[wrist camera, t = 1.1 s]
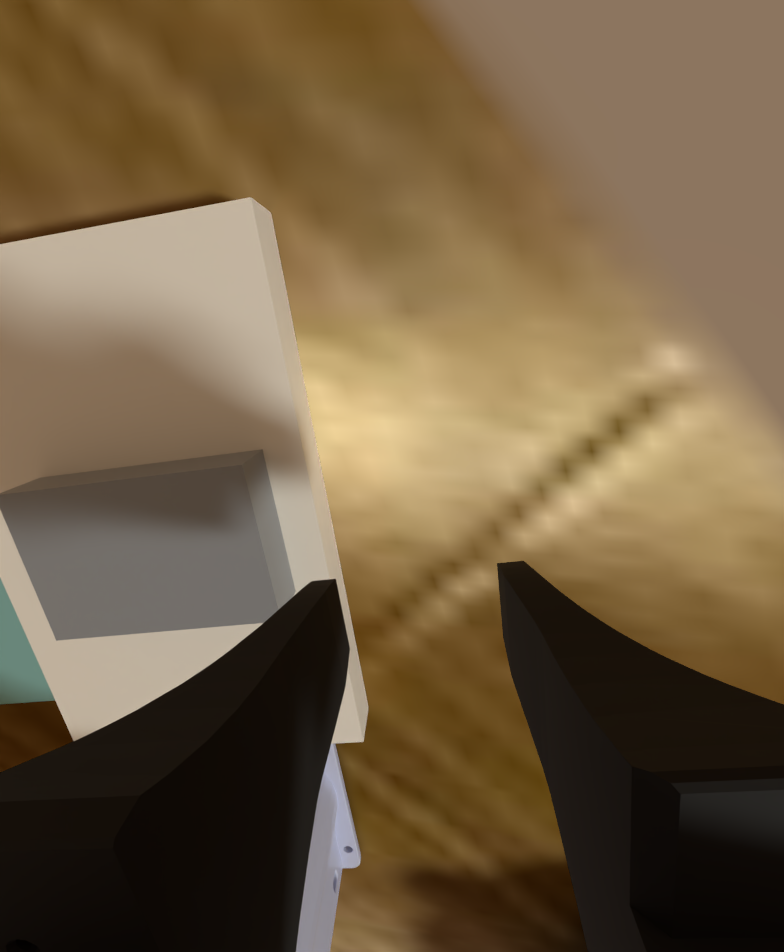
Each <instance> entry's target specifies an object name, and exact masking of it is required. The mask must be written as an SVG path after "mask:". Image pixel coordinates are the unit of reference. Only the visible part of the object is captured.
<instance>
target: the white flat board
mask: <svg viewBox="0 0 784 952" xmlns="http://www.w3.org/2000/svg"><path fill="white" fill-rule="evenodd" d="M261 449H263V454H264V458H265V462H266V467H267V471H268V475H269V479H270V484H271V488H272V492H273V496H274V501H275V505H276V509H277V514H278V518H279V522H280V526H281V531H282V535H283V539H284V543H285V548H286V552H287V556H288V561H289V565H290V569H291V573H292V578H293V582H294V586H295V590H296V592H295V594H297V593H298V592H299V591H300V590H301V589H302V588H304V587H305V586H306V585H307V584H309V583H310V582H311V581H317V580H327V579H336V582H337V587H338V592H339V597H340V602H341V607H342V612H343V617H344V622H345V627H346V631H347V636H348V641H349V646H350V653H349V662H348V671H347V679H346V686H345V691H344V695H343V699H342V703H341V707H340V711H339V715H338V719H337V723H336V727H335V731H334V734H333V738H332V742H331V744H333V743H350V742H364V735H365V728H366V721H367V714H368V702H367V697H366V692H365V687H364V682H363V677H362V672H361V667H360V662H359V657H358V652H357V646H356V641H355V636H354V631H353V626H352V621H351V616H350V611H349V606H348V601H347V596H346V591H345V586H344V580H343V575H342V570H341V565H340V560H339V555H338V550H337V545H336V540H335V535H334V530H333V525H332V520H331V515H330V509H329V504H328V499H327V494H326V489H325V484H324V479H323V474H322V469H321V464H320V459H319V454H318V449H317V444H316V438H315V433H314V428H313V423H312V418H311V413H310V408H309V403H308V398H307V393H306V388H305V383H304V378H303V372H302V367H301V362H300V357H299V352H298V347H297V342H296V337H295V332H294V327H293V322H292V317H291V312H290V307H289V301H288V296H287V291H286V286H285V281H284V276H283V271H282V266H281V261H280V256H279V251H278V246H277V241H276V236H275V230H274V225H273V220H272V215H271V212H269V211H268V210H267V209H265V208H264V207H263V206H262V205H260V204H259V203H258V202H256V201H255V200H254V199H252V198H251V197H250V198H244V199H239V200H234V201H228V202H223V203H218V204H212V205H207V206H202V207H196V208H191V209H186V210H180V211H175V212H170V213H164V214H159V215H154V216H148V217H143V218H138V219H132V220H127V221H122V222H116V223H111V224H106V225H100V226H95V227H90V228H84V229H79V230H74V231H68V232H63V233H58V234H52V235H47V236H42V237H36V238H31V239H26V240H20V241H15V242H10V243H4V244H0V493H2V492H4V491H7V490H10V489H12V488H15V487H17V486H20V485H22V484H25V483H28V482H30V481H33V480H35V479H38V478H41V477H49V476H57V475H64V474H72V473H80V472H88V471H96V470H104V469H112V468H119V467H127V466H135V465H143V464H151V463H159V462H167V461H175V460H182V459H190V458H198V457H206V456H214V455H222V454H230V453H237V452H245V451H253V450H261ZM0 578H1V580H2V583H3V585H4V587H5V589H6V592H7V594H8V596H9V598H10V600H11V603H12V605H13V607H14V609H15V612H16V614H17V616H18V618H19V621H20V623H21V625H22V627H23V629H24V632H25V634H26V636H27V638H28V641H29V643H30V645H31V647H32V650H33V652H34V654H35V656H36V658H37V661H38V663H39V665H40V667H41V670H42V672H43V674H44V676H45V679H46V681H47V683H48V685H49V687H50V690H51V692H52V694H53V696H54V699H55V701H56V703H57V705H58V708H59V710H60V712H61V714H62V716H63V719H64V721H65V723H66V725H67V728H68V730H69V732H70V734H71V737H72V739H73V741H76V740H78V739H80V738H82V737H84V736H86V735H88V734H90V733H92V732H94V731H96V730H99V729H101V728H103V727H105V726H107V725H109V724H111V723H113V722H115V721H117V720H118V719H120V718H122V717H124V716H126V715H128V714H130V713H132V712H134V711H136V710H138V709H139V708H141V707H143V706H144V705H146V704H148V703H150V702H151V701H153V700H155V699H156V698H158V697H160V696H162V695H163V694H165V693H167V692H168V691H170V690H172V689H174V688H175V687H177V686H179V685H180V684H182V683H184V682H185V681H187V680H188V679H190V678H191V677H193V676H194V675H196V674H197V673H199V672H200V671H202V670H203V669H205V668H206V667H208V666H209V665H211V664H212V663H213V662H215V661H216V660H218V659H219V658H220V657H222V656H223V655H224V654H226V653H227V652H228V651H230V650H231V649H232V648H233V647H235V646H236V645H237V644H238V643H240V642H241V641H242V640H243V639H245V638H246V637H247V636H248V635H249V634H251V633H252V632H253V631H254V630H256V629H257V628H258V627H259V626H261V625H262V624H263V623H256V624H245V625H233V626H221V627H210V628H198V629H186V630H175V631H163V632H151V633H140V634H128V635H117V636H105V637H93V638H82V639H70V640H58V641H56V639H55V636H54V634H53V632H52V629H51V627H50V625H49V622H48V620H47V618H46V615H45V613H44V611H43V608H42V606H41V604H40V601H39V599H38V597H37V594H36V592H35V590H34V587H33V585H32V583H31V580H30V578H29V575H28V573H27V571H26V568H25V566H24V564H23V561H22V559H21V557H20V554H19V552H18V550H17V547H16V545H15V543H14V540H13V538H12V536H11V533H10V531H9V529H8V526H7V524H6V522H5V519H4V517H3V515H2V512H1V510H0ZM295 594H294V595H295Z"/></svg>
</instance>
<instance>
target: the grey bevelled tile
mask: <svg viewBox="0 0 784 952" xmlns="http://www.w3.org/2000/svg"><path fill="white" fill-rule="evenodd" d="M0 510H1V512H2V515H3V517H4V519H5V522H6V524H7V526H8V529H9V531H10V533H11V536H12V538H13V540H14V543H15V545H16V547H17V550H18V552H19V554H20V557H21V559H22V561H23V564H24V566H25V568H26V571H27V573H28V575H29V578H30V580H31V583H32V585H33V587H34V590H35V592H36V594H37V597H38V599H39V601H40V604H41V606H42V608H43V611H44V613H45V615H46V618H47V620H48V622H49V625H50V627H51V629H52V632H53V634H54V636H55V639H56V641H58V640H70V639H82V638H93V637H105V636H117V635H128V634H140V633H151V632H163V631H175V630H186V629H198V628H210V627H221V626H233V625H245V624H256V623H264V622H265V621H266V620H267V619H269V618H270V617H271V616H272V615H273V614H274V613H275V612H276V611H278V610H279V609H280V608H281V607H282V606H283V605H284V604H285V603H287V602H288V601H289V600H290V599H291V598H292V597H293V596H294V594H295V592H296V590H295V586H294V582H293V578H292V573H291V569H290V565H289V561H288V556H287V552H286V548H285V543H284V539H283V535H282V531H281V526H280V522H279V518H278V514H277V509H276V505H275V501H274V496H273V492H272V488H271V484H270V479H269V475H268V471H267V467H266V462H265V458H264V454H263V449H261V450H253V451H245V452H237V453H230V454H222V455H214V456H206V457H198V458H190V459H182V460H175V461H167V462H159V463H151V464H143V465H135V466H127V467H119V468H112V469H104V470H96V471H88V472H80V473H72V474H64V475H57V476H49V477H41V478H38V479H35V480H33V481H30V482H28V483H25V484H22V485H20V486H17V487H15V488H12V489H10V490H7V491H4V492H2V493H0Z"/></svg>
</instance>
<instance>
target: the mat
mask: <svg viewBox="0 0 784 952" xmlns="http://www.w3.org/2000/svg"><path fill="white" fill-rule="evenodd" d="M54 700H55V699H54V696H53V694H52V692H51V690H50V687H49V685H48V683H47V681H46V679H45V676H44V674H43V672H42V670H41V667H40V665H39V663H38V661H37V658H36V656H35V654H34V652H33V650H32V647H31V645H30V643H29V641H28V638H27V636H26V634H25V632H24V629H23V627H22V625H21V623H20V621H19V618H18V616H17V614H16V612H15V609H14V607H13V605H12V603H11V600H10V598H9V596H8V594H7V592H6V589H5V587H4V585H3V583H2V580H1V578H0V704H12V703H26V702H40V701H54Z"/></svg>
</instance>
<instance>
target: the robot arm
mask: <svg viewBox="0 0 784 952" xmlns="http://www.w3.org/2000/svg"><path fill="white" fill-rule="evenodd" d="M497 567H498V579H499V591H500V603H501V615H502V627H503V638H504V642H505V647H506V652H507V657H508V661H509V666H510V670H511V675H512V678H513V681H514V684H515V687H516V690H517V693H518V696H519V699H520V702H521V705H522V708H523V711H524V714H525V717H526V720H527V722H528V725H529V728H530V731H531V734H532V737H533V740H534V743H535V746H536V749H537V752H538V755H539V758H540V761H541V763H542V766H543V769H544V773H545V776H546V780H547V783H548V786H549V790H550V793H551V797H552V802H553V806H554V810H555V814H556V818H557V822H558V826H559V830H560V834H561V838H562V843H563V847H564V851H565V855H566V859H567V864H568V868H569V872H570V876H571V881H572V885H573V889H574V893H575V897H576V902H577V906H578V910H579V915H580V919H581V923H582V928H583V932H584V937H585V941H586V945H587V950H588V952H784V705H783V704H780V703H778V702H775V701H772V700H769V699H766V698H764V697H761V696H758V695H755V694H753V693H750V692H747V691H745V690H742V689H739V688H736V687H734V686H731V685H728V684H726V683H723V682H721V681H719V680H716V679H714V678H711V677H709V676H706V675H704V674H701V673H699V672H697V671H695V670H693V669H690V668H688V667H686V666H684V665H682V664H679V663H677V662H675V661H673V660H671V659H668V658H666V657H664V656H662V655H660V654H658V653H656V652H654V651H652V650H650V649H648V648H647V647H645V646H643V645H641V644H639V643H638V642H636V641H634V640H632V639H630V638H629V637H627V636H625V635H623V634H621V633H620V632H618V631H616V630H615V629H613V628H611V627H610V626H608V625H606V624H605V623H603V622H602V621H600V620H599V619H597V618H596V617H594V616H593V615H591V614H590V613H588V612H587V611H585V610H584V609H583V608H581V607H580V606H578V605H577V604H576V603H574V602H573V601H572V600H570V599H569V598H568V597H566V596H565V595H564V594H563V593H561V592H560V591H559V590H558V589H556V588H555V587H554V586H553V585H551V584H550V583H549V582H548V581H547V580H545V579H544V578H543V577H542V576H541V575H540V574H538V573H537V572H536V571H535V570H534V569H533V568H531V567H530V566H529V565H528V564H527V563H525V562H524V561H517V562H507V563H497ZM349 653H350V646H349V641H348V636H347V631H346V627H345V622H344V617H343V612H342V607H341V602H340V597H339V592H338V587H337V582H336V579H327V580H317V581H311V582H310V583H309V584H307V585H306V586H305V587H304V588H302V589H301V590H300V591H299V592H298V593H297V594H295V595H294V596H293V597H292V598H291V599H290V600H289V601H288V602H287V603H285V604H284V605H283V606H282V607H281V608H280V609H279V610H278V611H276V612H275V613H274V614H273V615H272V616H271V617H270V618H269V619H267V620H266V621H265V622H264V623H263V624H262V625H261V626H259V627H258V628H257V629H256V630H254V631H253V632H252V633H251V634H249V635H248V636H247V637H246V638H245V639H243V640H242V641H241V642H240V643H238V644H237V645H236V646H235V647H233V648H232V649H231V650H230V651H228V652H227V653H226V654H224V655H223V656H222V657H220V658H219V659H218V660H216V661H215V662H213V663H212V664H211V665H209V666H208V667H206V668H205V669H203V670H202V671H200V672H199V673H197V674H196V675H194V676H193V677H191V678H190V679H188V680H187V681H185V682H184V683H182V684H180V685H179V686H177V687H175V688H174V689H172V690H170V691H168V692H167V693H165V694H163V695H162V696H160V697H158V698H156V699H155V700H153V701H151V702H150V703H148V704H146V705H144V706H143V707H141V708H139V709H138V710H136V711H134V712H132V713H130V714H128V715H126V716H124V717H122V718H120V719H118V720H117V721H115V722H113V723H111V724H109V725H107V726H105V727H103V728H101V729H99V730H96V731H94V732H92V733H90V734H88V735H86V736H84V737H82V738H80V739H78V740H76V741H73V742H71V743H69V744H67V745H65V746H62V747H60V748H58V749H55V750H53V751H51V752H48V753H46V754H43V755H41V756H39V757H36V758H34V759H31V760H29V761H27V762H24V763H22V764H19V765H17V766H15V767H12V768H10V769H8V770H5V771H3V772H0V952H330V948H331V941H332V934H333V928H334V921H335V914H336V908H337V901H338V894H339V887H340V881H341V874H342V868H355V867H357V866H359V864H360V860H361V853H360V849H359V845H358V840H357V836H356V832H355V827H354V823H353V819H352V814H351V810H350V806H349V801H348V797H347V793H346V788H345V784H344V780H343V775H342V771H341V767H340V762H339V758H338V754H337V749H336V745H335V743H333V744H331V742H332V738H333V734H334V731H335V727H336V723H337V719H338V715H339V711H340V707H341V703H342V699H343V695H344V691H345V686H346V679H347V671H348V662H349Z"/></svg>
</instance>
